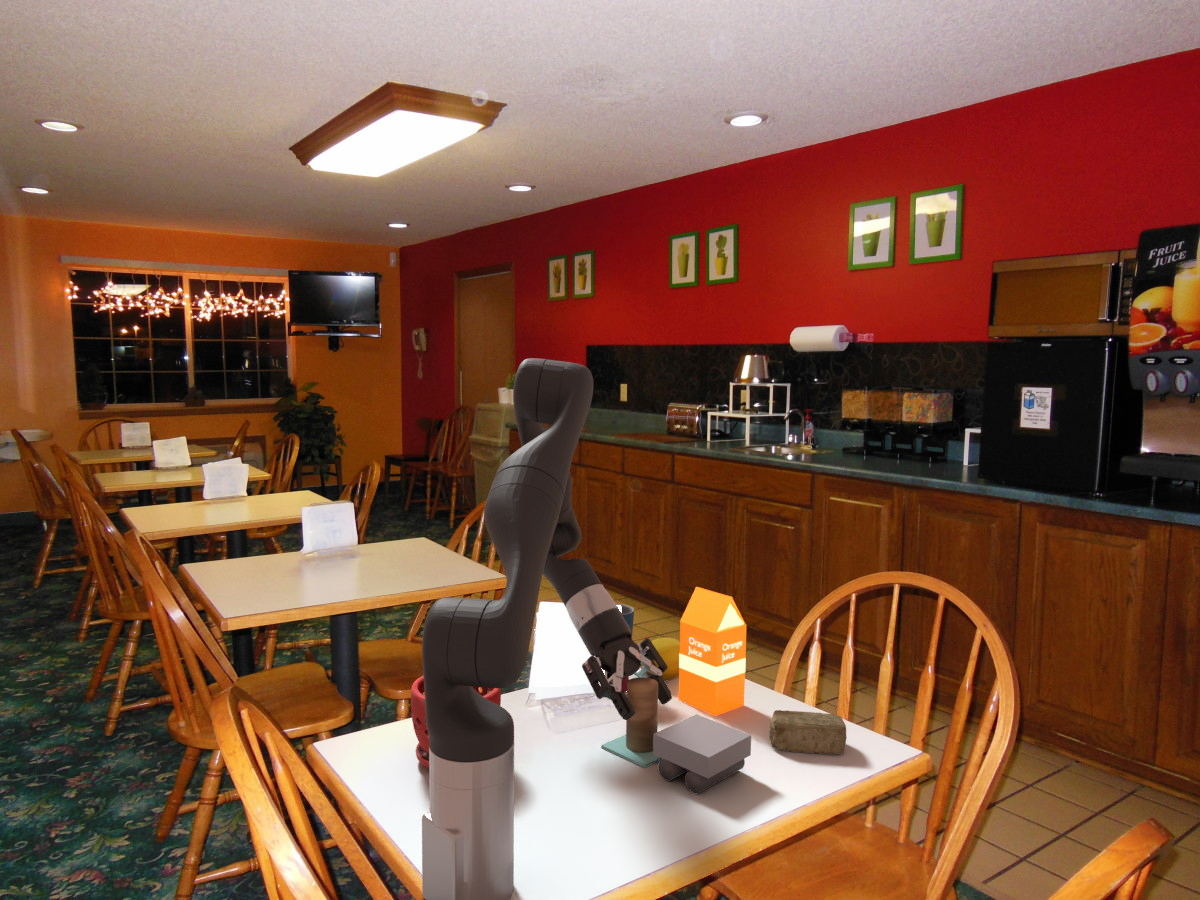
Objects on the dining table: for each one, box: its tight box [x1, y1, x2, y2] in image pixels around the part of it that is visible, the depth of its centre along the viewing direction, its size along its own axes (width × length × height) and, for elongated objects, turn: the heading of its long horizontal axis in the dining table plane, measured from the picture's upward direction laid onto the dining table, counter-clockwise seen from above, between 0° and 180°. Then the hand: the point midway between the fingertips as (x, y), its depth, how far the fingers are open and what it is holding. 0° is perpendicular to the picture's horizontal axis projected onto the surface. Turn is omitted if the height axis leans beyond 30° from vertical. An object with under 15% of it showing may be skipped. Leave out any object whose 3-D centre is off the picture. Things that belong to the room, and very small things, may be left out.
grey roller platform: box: [653, 713, 752, 794], centre depth 119 cm, size 10×10×6 cm
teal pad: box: [600, 733, 663, 769], centre depth 128 cm, size 9×9×1 cm
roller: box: [625, 677, 659, 753], centre depth 127 cm, size 5×5×10 cm
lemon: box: [639, 637, 680, 682], centre depth 156 cm, size 11×8×8 cm
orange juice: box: [678, 586, 747, 717], centre depth 145 cm, size 8×9×20 cm
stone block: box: [768, 709, 847, 755], centre depth 129 cm, size 6×12×5 cm, turn 83°
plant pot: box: [410, 675, 502, 769], centre depth 123 cm, size 13×13×12 cm
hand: (649, 709), depth 126 cm, fingers open, 8 cm apart
